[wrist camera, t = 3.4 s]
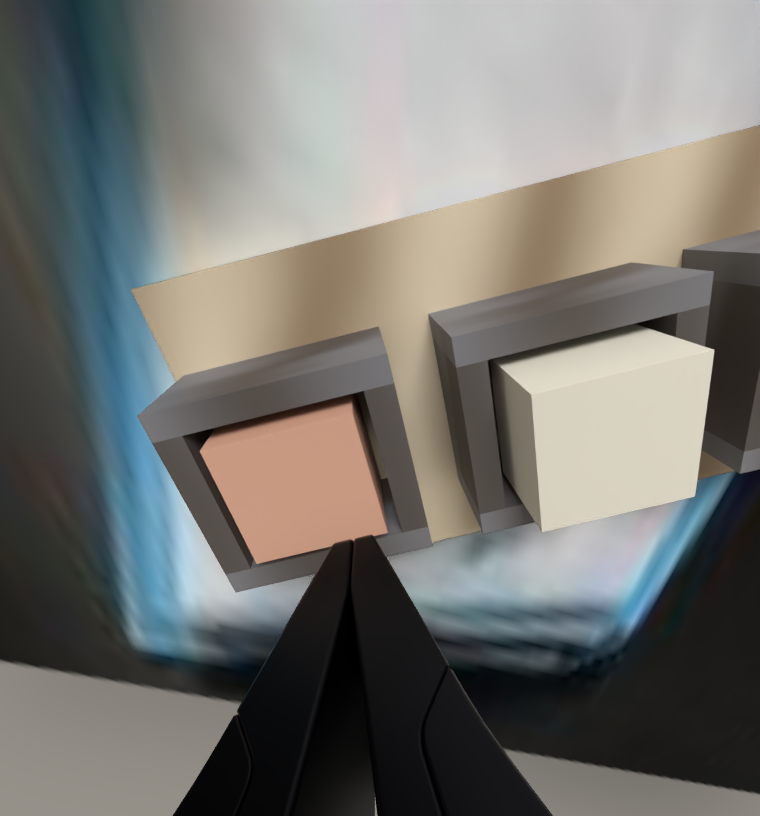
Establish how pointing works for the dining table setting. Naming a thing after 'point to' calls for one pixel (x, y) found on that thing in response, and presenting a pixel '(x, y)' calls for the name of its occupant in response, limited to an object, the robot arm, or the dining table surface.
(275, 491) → the button terracotta
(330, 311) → the button panel
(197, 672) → the dining table surface
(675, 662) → the dining table surface
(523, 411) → the button cream
